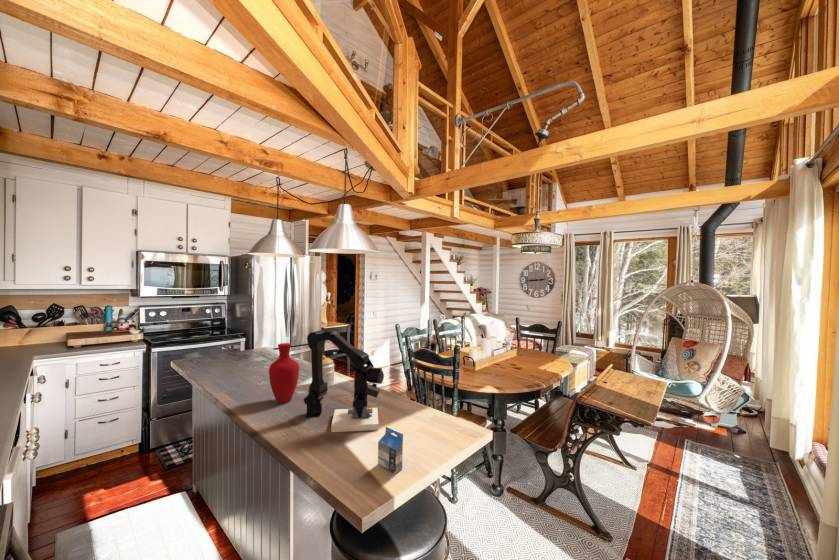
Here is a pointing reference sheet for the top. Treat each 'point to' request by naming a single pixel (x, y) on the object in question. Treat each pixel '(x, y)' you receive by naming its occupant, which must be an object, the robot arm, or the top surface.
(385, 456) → the label tape cartridge
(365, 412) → the servo
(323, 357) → the jar
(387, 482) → the top surface
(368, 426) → the cream flat slab
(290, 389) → the vase
